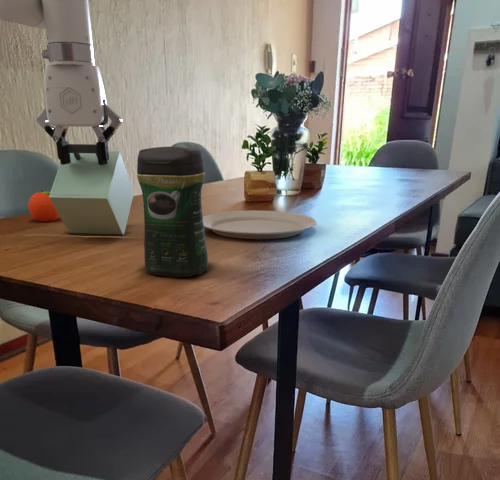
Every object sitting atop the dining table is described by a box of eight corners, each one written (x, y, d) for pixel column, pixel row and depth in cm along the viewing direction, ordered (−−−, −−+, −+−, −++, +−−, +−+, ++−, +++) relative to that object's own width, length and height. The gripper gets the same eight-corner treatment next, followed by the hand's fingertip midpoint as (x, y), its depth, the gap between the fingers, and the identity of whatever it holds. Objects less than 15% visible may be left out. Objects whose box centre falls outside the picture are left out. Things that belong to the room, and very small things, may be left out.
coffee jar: (214, 267, 83) (211, 146, 75) (195, 281, 76) (190, 148, 68) (160, 262, 85) (152, 144, 78) (137, 275, 78) (126, 147, 71)
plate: (327, 242, 100) (327, 232, 99) (196, 243, 98) (196, 233, 97) (305, 218, 123) (305, 210, 123) (199, 219, 122) (199, 210, 121)
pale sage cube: (101, 186, 91) (114, 138, 96) (41, 184, 92) (57, 137, 97) (123, 236, 103) (134, 191, 109) (70, 235, 104) (83, 190, 110)
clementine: (71, 219, 120) (67, 188, 117) (62, 225, 114) (58, 192, 111) (36, 219, 120) (31, 188, 117) (26, 225, 113) (20, 192, 110)
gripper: (13, 55, 86) (30, 165, 93) (113, 54, 85) (123, 166, 92) (34, 59, 93) (49, 162, 100) (126, 59, 92) (135, 163, 99)
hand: (84, 163), depth 96 cm, fingers closed on pale sage cube, 6 cm apart
